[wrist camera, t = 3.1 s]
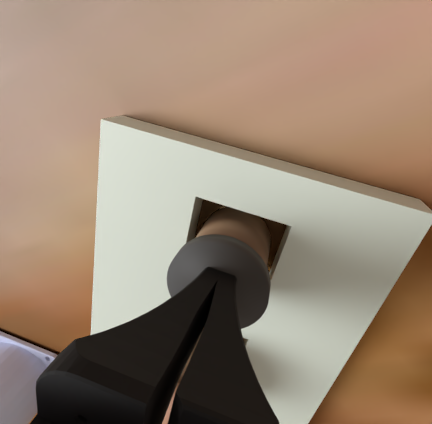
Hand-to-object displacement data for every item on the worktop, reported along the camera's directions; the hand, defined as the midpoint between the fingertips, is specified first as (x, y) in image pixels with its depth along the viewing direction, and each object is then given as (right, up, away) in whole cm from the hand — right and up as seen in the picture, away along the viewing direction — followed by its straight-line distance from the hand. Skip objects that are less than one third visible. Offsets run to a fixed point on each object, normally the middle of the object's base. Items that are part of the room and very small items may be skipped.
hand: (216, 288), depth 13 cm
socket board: (0, -5, +8) cm, 10 cm away
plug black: (+1, +2, +4) cm, 5 cm away
